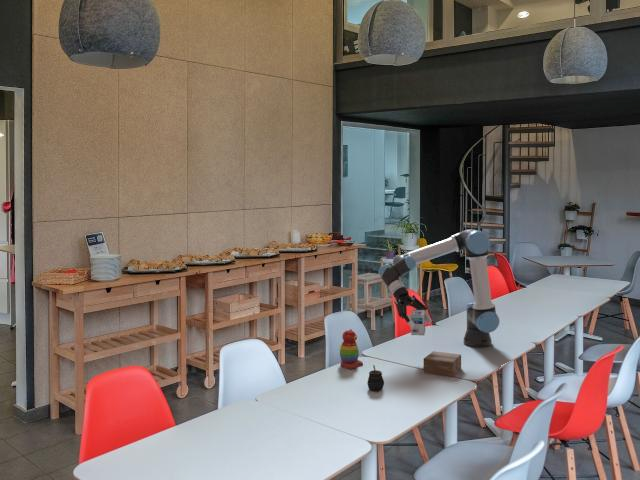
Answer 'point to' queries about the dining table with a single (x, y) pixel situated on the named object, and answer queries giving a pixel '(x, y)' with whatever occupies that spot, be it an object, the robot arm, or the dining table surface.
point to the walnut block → (442, 364)
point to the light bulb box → (418, 322)
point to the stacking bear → (349, 351)
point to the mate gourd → (375, 380)
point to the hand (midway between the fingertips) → (421, 324)
